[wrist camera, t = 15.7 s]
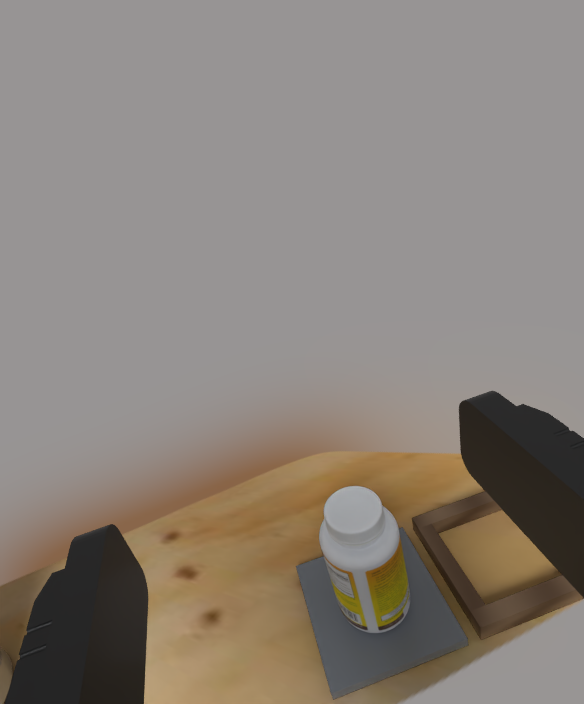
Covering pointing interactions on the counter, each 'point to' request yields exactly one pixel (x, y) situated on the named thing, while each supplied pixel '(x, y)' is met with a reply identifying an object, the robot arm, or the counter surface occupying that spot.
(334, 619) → the slate coaster
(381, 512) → the supplement bottle
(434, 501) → the counter surface
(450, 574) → the pocket frame
